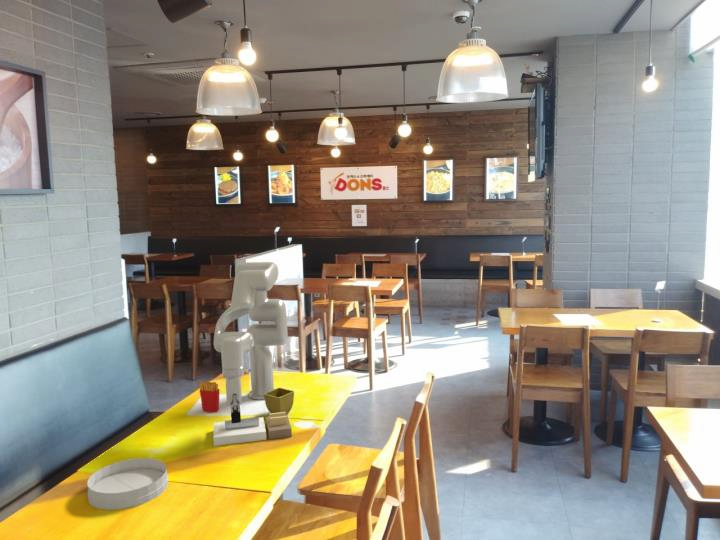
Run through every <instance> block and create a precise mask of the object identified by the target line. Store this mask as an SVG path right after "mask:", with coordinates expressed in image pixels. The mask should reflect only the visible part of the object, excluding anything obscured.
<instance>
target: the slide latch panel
mask: <svg viewBox="0 0 720 540" xmlns="http://www.w3.org/2000/svg"><path fill="white" fill-rule="evenodd" d="M265 422H266V423H265ZM265 424H266V425H265ZM291 425H292V424H291V422H290V420H289V416H288V414H286V412H278V413H270V412H269V413H268V416H265V420H264V416H262V417H259V426H253V427H244V428H236V429H227V430H225V421H218V422H214V423H213V437H212V438H213V439H212V440H213V447H219V446H226V444H227V445H233V444H234V443H235V444H241V443H250V442H258V441H259V442H260V441H267V434H268V438H269V439H268V440H274V439H280V438H281V439H284V438H289V437H293V434H292V426H291ZM266 429H267V430H266Z"/></svg>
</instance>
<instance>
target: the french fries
mask: <svg viewBox="0 0 720 540" xmlns="http://www.w3.org/2000/svg"><path fill="white" fill-rule="evenodd" d="M198 387H199V395H200V401H201V408H202V412H204V413H213V414H214V413H217V412H218V411H219V410H220V389H219V384H218V383H217V382H215V381H213V382H211V381H207V382H205V381H200V382H199V383H198Z"/></svg>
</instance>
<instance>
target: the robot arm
mask: <svg viewBox="0 0 720 540" xmlns="http://www.w3.org/2000/svg"><path fill="white" fill-rule="evenodd" d="M234 269H235V271H234V272H235V276H234V280H233V286H232V287H233V289H232V296H231V301H230V306H229V307H228V308H226V310H224V312H223V313H221V315H220V316H219V318H218V320H217V321H216V325H215V328H214V336H213V347H214V349H215V350H216V352H218V353H221V356H220V357H221V368H222V369H221V370H222V378H224V379H225V393H226V406H227V407H229V406H230V420H231V422H232V423H240V422H241V419H242V415H241V409H240V410H239V406H240V407H241V404H242V377H243V376H245V366H244V365H245V363H244V362H245V361H244V354H245V353H249V365H250V382H251V384H250V385H251V391H249V392H248V395H247V397H248V398H249V399H251V400H255V401H256V400H257V401H262V400H263V401H264V400H265V398H264V393H267V392H269V391H272V390H274V389H275V388H274V387H275V386H274V369H273V368H274V366H273V354H272V352H271V350H270V349H269V348H268V347H270V346H271V347H272V346H275V347H277V346H278V347H279V346H284V345H286V344H287V342H288V339H289V338H288V337H289V336H288V335H289V334H288V320H287V308H286V304H285V301H283V300H282V299H281V298H268V291H271V289H272V288H273V287H274V285H275V284H276V282H277V280H278V277H279V269H278V266H277V264H276V263H275V262H274V261H273V262H272V261H271V262H270V261H262V262H261V261H259V262H256V261H253V262H251V261H249V262H240V263H238V264H237V265H236V266H235V268H234ZM246 315H248V318H249V320H251V321H252V322H261V323H252V324H251V325H249V326H248V327H247V329H246V331H226V328H227V327H228V326H229V325H230V324H231V323H232V322H233V321H236V320H237V319H240V318H241V317H245V316H246ZM263 322H266V323H263ZM267 322H269V323H267ZM270 322H272V323H270ZM233 406H234V407H233ZM231 410H232V412H231Z"/></svg>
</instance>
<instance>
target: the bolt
mask: <svg viewBox="0 0 720 540" xmlns="http://www.w3.org/2000/svg"><path fill="white" fill-rule="evenodd" d="M233 407H234V406H233ZM239 410H240V411H241V405H240V406H239ZM231 412H232V410H231V409H230V413H231ZM259 418H260V416H256V417H255V416H254V417H246V418H241V422H240V423H232V422H231V419H229V420H224V422H225V430H227V429H236V428H244V427H253V426H259Z"/></svg>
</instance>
